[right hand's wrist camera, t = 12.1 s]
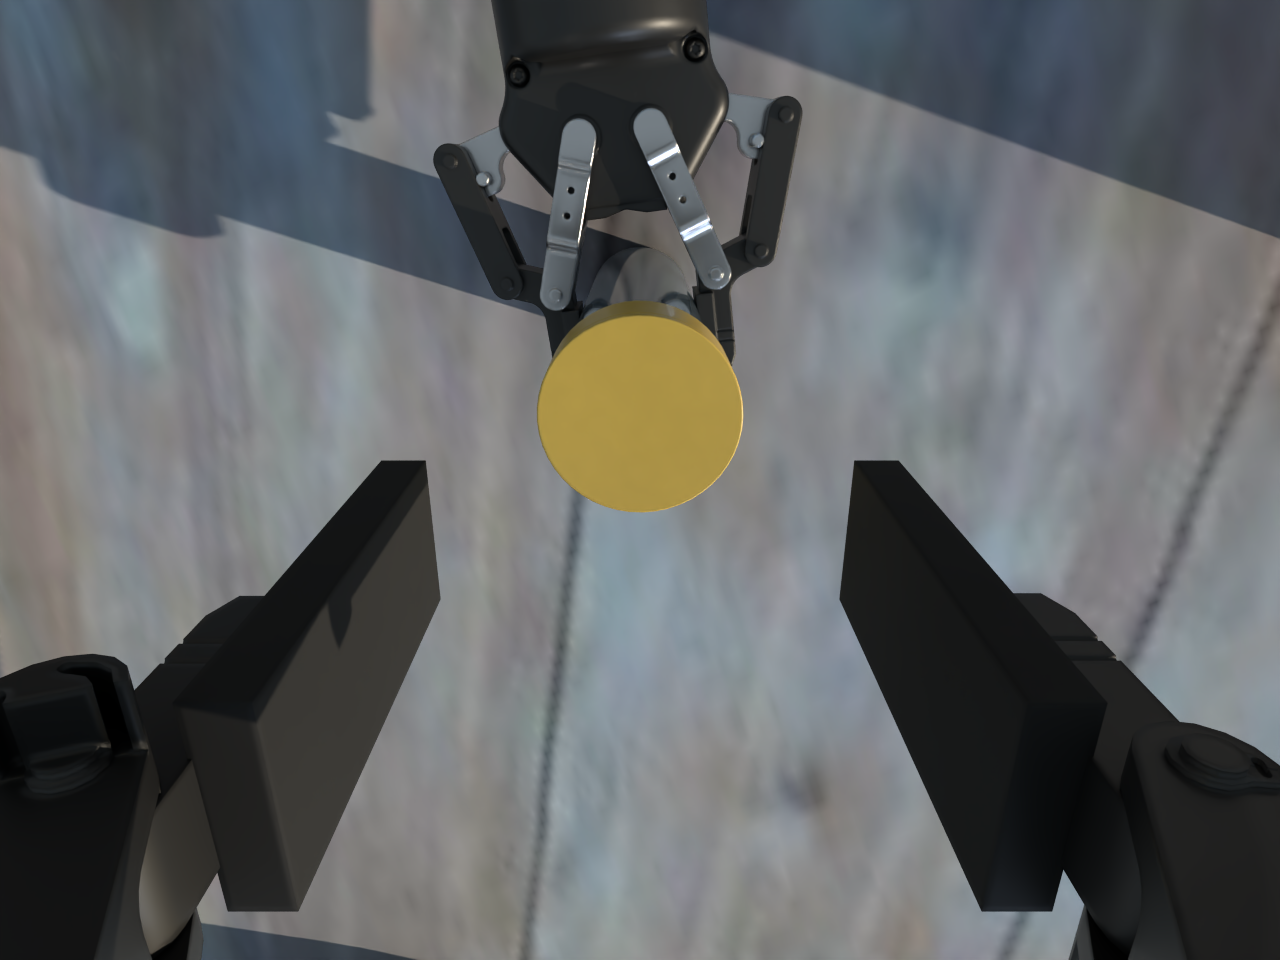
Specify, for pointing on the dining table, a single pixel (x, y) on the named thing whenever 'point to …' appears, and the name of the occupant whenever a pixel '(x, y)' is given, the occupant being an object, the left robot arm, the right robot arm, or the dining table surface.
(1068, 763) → the right robot arm
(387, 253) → the dining table surface
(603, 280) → the bottle
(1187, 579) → the dining table surface
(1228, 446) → the dining table surface
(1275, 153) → the dining table surface
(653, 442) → the lid
